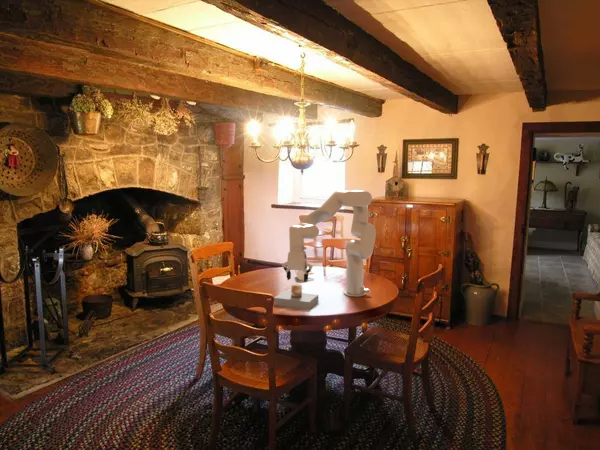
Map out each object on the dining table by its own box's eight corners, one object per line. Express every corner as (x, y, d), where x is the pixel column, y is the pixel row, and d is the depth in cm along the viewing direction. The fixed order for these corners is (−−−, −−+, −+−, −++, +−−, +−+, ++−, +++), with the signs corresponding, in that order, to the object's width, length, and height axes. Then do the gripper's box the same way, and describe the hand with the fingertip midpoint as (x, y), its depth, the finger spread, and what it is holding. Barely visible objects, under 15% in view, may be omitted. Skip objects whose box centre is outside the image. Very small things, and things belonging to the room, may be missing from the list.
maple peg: (303, 300, 236) (303, 284, 234) (299, 303, 230) (299, 287, 229) (293, 299, 238) (293, 283, 237) (289, 302, 232) (289, 286, 231)
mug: (296, 280, 282) (296, 268, 281) (294, 276, 292) (294, 265, 291) (314, 280, 283) (314, 268, 282) (312, 276, 293) (312, 264, 292)
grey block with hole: (318, 302, 237) (318, 294, 236) (308, 309, 224) (309, 302, 223) (284, 297, 244) (284, 290, 244) (273, 304, 231) (273, 297, 231)
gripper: (314, 248, 230) (314, 279, 233) (284, 246, 237) (285, 277, 239) (309, 251, 224) (309, 283, 226) (278, 249, 230) (279, 280, 233)
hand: (297, 280), depth 233 cm, fingers open, 9 cm apart
